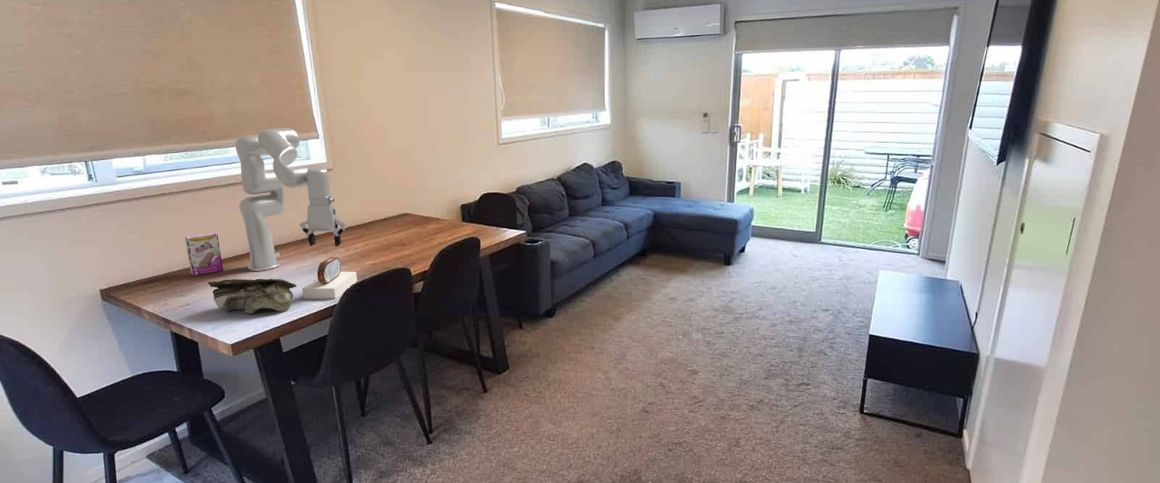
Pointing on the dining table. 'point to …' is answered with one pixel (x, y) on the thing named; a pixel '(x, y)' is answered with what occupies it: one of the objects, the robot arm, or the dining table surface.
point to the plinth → (329, 287)
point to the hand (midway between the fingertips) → (325, 245)
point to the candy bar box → (204, 254)
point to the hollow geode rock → (252, 294)
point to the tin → (329, 270)
